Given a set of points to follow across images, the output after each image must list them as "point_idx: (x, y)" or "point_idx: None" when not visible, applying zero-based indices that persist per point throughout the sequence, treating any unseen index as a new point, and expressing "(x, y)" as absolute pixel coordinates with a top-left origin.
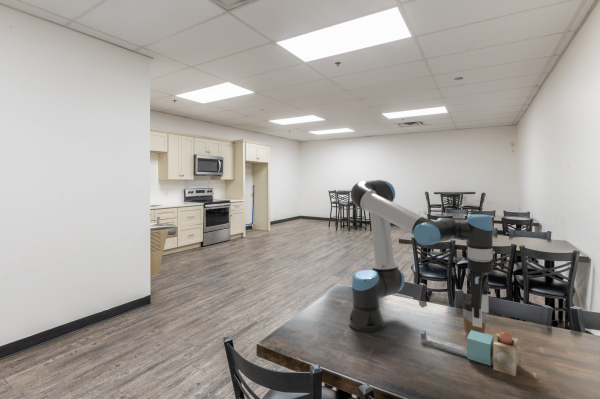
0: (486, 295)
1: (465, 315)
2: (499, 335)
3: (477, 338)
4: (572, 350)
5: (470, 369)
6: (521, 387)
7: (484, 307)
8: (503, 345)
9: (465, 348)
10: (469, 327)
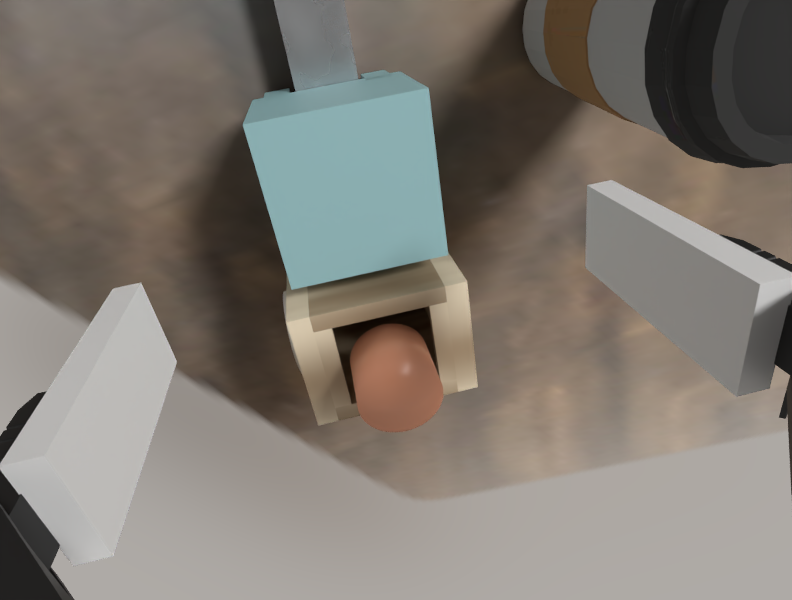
0: (738, 375)
1: None
2: (376, 350)
3: (312, 191)
4: (707, 398)
5: (171, 152)
6: (242, 369)
7: (618, 256)
8: (312, 370)
9: (331, 54)
10: (565, 7)
